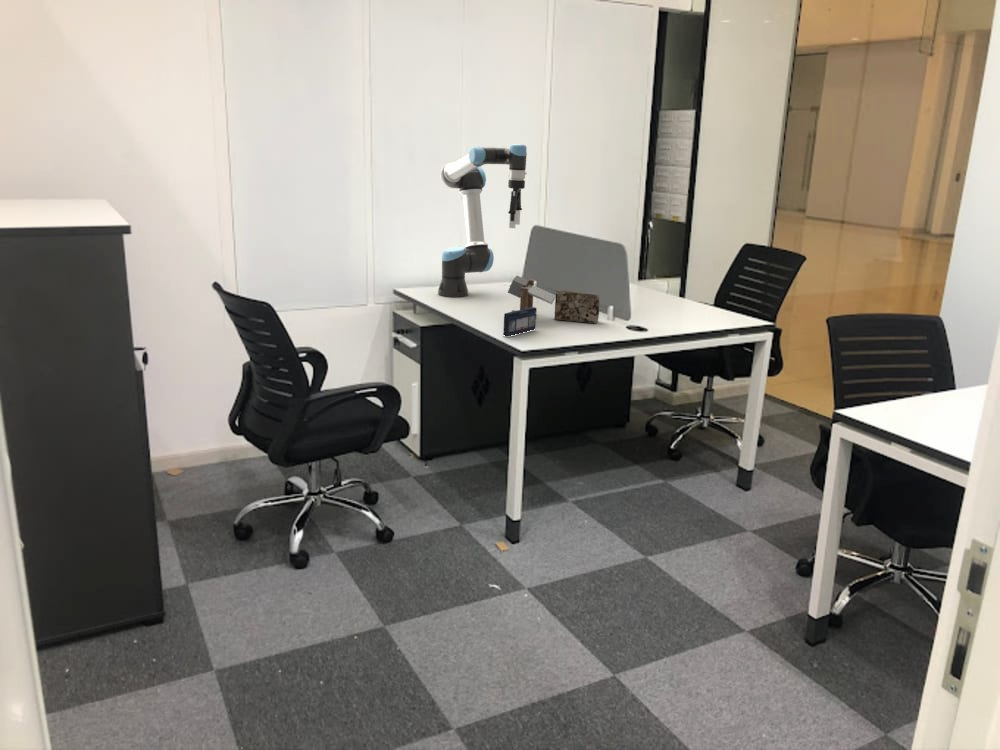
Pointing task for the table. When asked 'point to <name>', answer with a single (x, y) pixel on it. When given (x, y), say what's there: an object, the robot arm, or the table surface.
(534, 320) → the vhs cassette tape
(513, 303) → the table surface
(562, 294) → the stone block
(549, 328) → the table surface
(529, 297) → the trapdoor stand
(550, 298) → the trapdoor plate
